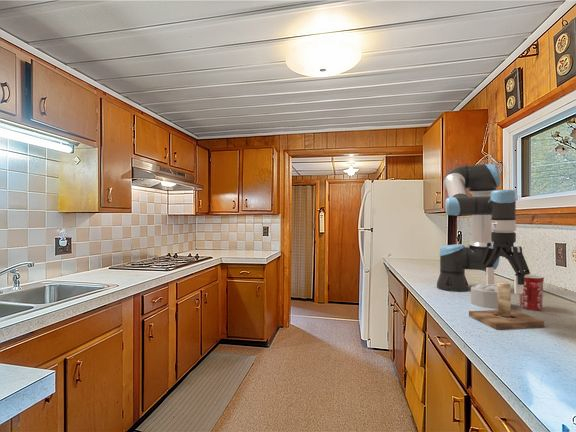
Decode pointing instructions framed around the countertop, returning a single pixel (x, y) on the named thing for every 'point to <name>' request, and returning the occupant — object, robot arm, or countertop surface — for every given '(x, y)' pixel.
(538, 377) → the countertop surface
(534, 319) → the seat board
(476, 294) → the lumpy-topped squat cylinder
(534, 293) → the mug
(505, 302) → the leg
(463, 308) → the countertop surface
